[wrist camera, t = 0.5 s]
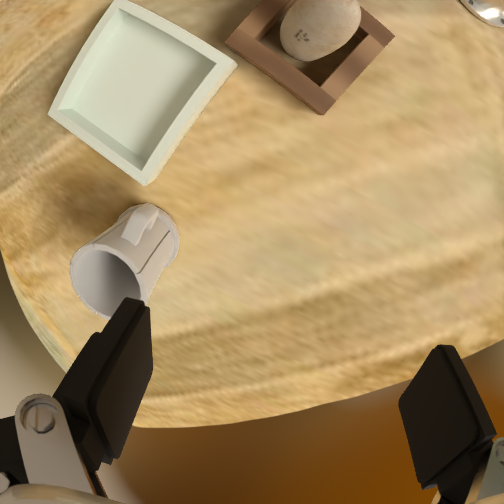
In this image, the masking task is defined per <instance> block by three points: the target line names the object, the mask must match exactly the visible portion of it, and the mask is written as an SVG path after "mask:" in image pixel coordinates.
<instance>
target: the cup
mask: <svg viewBox="0 0 504 504" xmlns="http://www.w3.org/2000/svg"><path fill="white" fill-rule="evenodd" d="M179 246H180V235H179V232H178V229H177V226H176V224H175V223H174V222H173V220H172V219H171V217H170V216H169V215H168V214H167V213H165V212H164V211H163V210H162V209H160V208H157V207H156V206H154V205H153V204H150V203H148V202H147V203H145V204H139V205H135V206H132V207H130V208H129V209H127V210H126V211H125V212H123V213H122V214H121V215H120V216H119V217H118V219H117V221H116V222H115V224H114V225H113V226H111V227H110V228H109V229H107V230H106V231H104V232H103V233H101V234H100V235H98V236H97V237H95V238H94V239H92V240H91V241H89V242H88V243H86V244H85V245H83V246H82V247H81V248H79V249H78V250H77V251H76V252H75V253H74V255H73V257H72V259H71V263H70V272H69V273H70V278H71V282H72V286H73V288H74V290H75V292H76V294H77V296H79V298H80V300H81V301H82V302H83V303H84V305H85V306H86V307H87V308H89V309H90V310H91V311H93V312H94V313H95V314H96V312H97V315H99V316H101V317H103V318H105V319H107V320H110V318H111V317H112V316H113V314H114V313H115V311H116V310H117V308H118V307H119V305H120V304H121V302H122V301H123V299H124V298H125V297H129V298H134V299H138V300H142V301H144V303H145V306H146V305H147V302H148V300H149V298H150V296H151V293H152V291H153V289H154V287H155V285H156V283H157V281H158V279H159V276H160V275H161V273H162V271H163V270H164V268H166V267H168V266H169V265H170V263H171V262H172V261H173V260H174V258H175V257H176V255H177V253H178V249H179Z"/></svg>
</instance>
